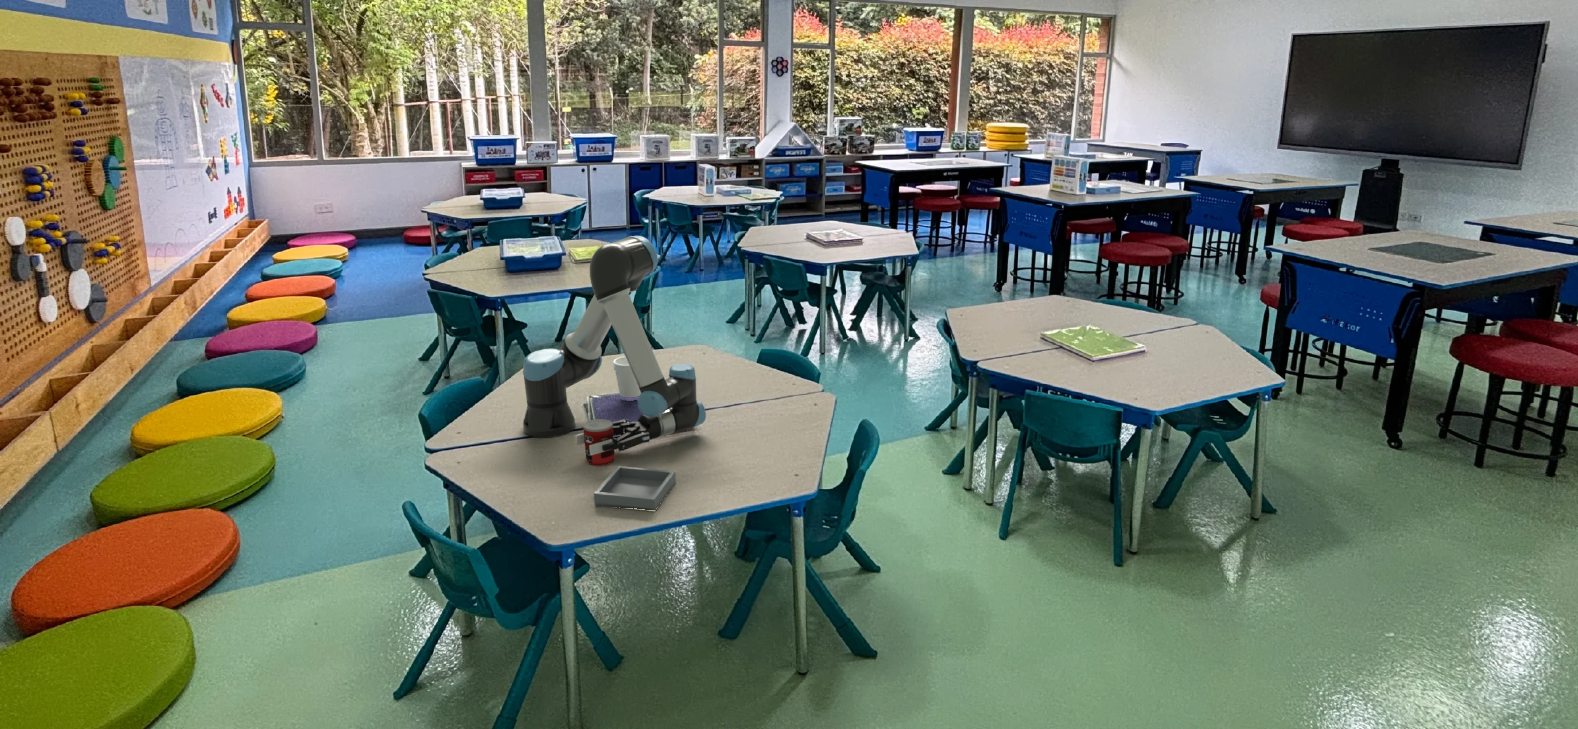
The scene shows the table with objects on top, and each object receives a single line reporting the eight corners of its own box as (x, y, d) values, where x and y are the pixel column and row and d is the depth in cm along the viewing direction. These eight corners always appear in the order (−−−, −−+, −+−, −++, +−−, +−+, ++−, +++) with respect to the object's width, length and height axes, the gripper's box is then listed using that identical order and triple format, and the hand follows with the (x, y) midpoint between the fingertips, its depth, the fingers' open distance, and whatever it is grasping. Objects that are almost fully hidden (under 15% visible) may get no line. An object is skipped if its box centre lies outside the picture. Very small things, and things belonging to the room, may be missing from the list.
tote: (594, 505, 231) (593, 493, 230) (618, 477, 246) (617, 465, 245) (655, 512, 228) (654, 499, 227) (675, 483, 243) (675, 471, 241)
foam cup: (638, 404, 295) (636, 366, 290) (611, 402, 296) (608, 364, 292) (648, 393, 303) (646, 356, 299) (622, 391, 305) (620, 354, 301)
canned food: (587, 455, 259) (584, 419, 255) (616, 454, 260) (613, 418, 256) (584, 467, 252) (581, 430, 248) (613, 465, 252) (611, 429, 249)
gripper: (675, 448, 258) (601, 470, 245) (638, 425, 273) (567, 445, 260) (673, 423, 255) (599, 445, 242) (637, 401, 271) (565, 420, 257)
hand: (583, 445), depth 251 cm, fingers closed on canned food, 8 cm apart
